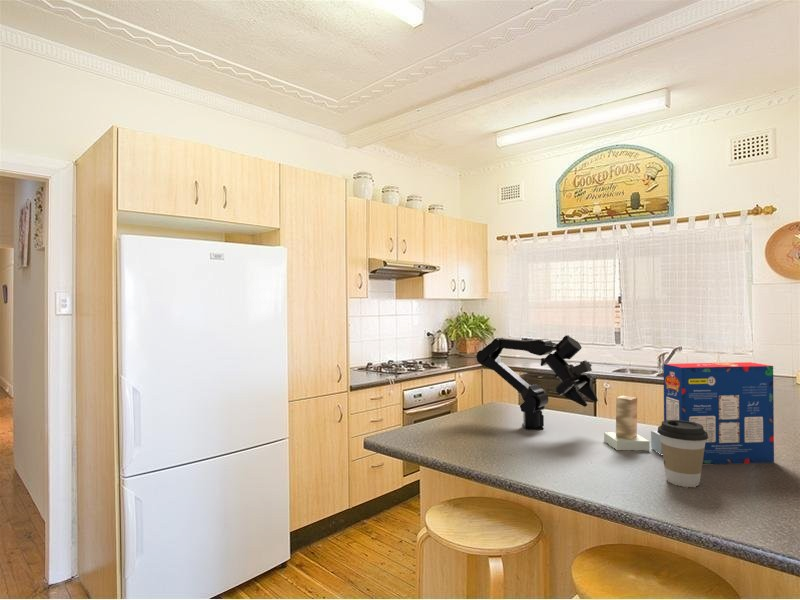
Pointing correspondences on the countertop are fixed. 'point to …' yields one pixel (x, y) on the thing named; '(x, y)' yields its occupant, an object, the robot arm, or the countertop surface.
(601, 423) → the countertop surface
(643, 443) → the plinth
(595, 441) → the countertop surface
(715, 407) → the pasta box
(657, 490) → the countertop surface
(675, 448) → the coffee cup
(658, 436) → the grey cube
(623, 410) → the pillar
